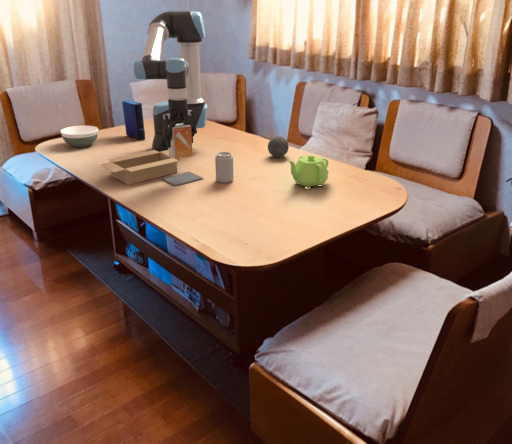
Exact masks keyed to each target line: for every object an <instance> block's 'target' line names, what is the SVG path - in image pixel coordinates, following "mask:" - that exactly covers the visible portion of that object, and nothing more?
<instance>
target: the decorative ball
mask: <svg viewBox="0 0 512 444" xmlns="http://www.w3.org/2000/svg"><path fill="white" fill-rule="evenodd" d="M267 151H268V153H269V154H270V155H271V156H272V157H275V158H282V157H284V156H285V155H287V154H288V151H289V142H288V140H287V139H286V138H284V137H282V136H280V135H279V136H274V137H272V138H270V139H269V141H268V144H267Z"/></svg>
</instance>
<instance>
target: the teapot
mask: <svg viewBox="0 0 512 444" xmlns="http://www.w3.org/2000/svg"><path fill="white" fill-rule="evenodd" d="M287 162H289V164H290V174H291V176H292V178H293V180H294V182H296V184H297V183H299V184H298V185H300V186H304V188H305V187H307V188H309V187H315V186H317V185H324V184H325V183H326V181H327V180H328V179H329V170H328V166H329V160H328V159H327V158H324V157H322V158H321V157H318V156H315V155H314V154H308V155H307V156H305V155H304V156H303V155H302V156H300V157H299V158H298V160H297V161H296V163H295V162H294V161H293V160H288V159H287Z"/></svg>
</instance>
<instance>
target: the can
mask: <svg viewBox="0 0 512 444" xmlns="http://www.w3.org/2000/svg"><path fill="white" fill-rule="evenodd" d="M214 159H215V161H214V162H215V180H216V181H217V182H218V183H221V184H229V183H231V182H233V180H234V177H235V175H234V156H233V155H232V153H231V152H229V151H220V152H217V153H216V156H215V157H214Z"/></svg>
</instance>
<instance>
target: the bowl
mask: <svg viewBox="0 0 512 444" xmlns="http://www.w3.org/2000/svg"><path fill="white" fill-rule="evenodd" d="M98 131H99V128H98V126H94V125H71V126H68V127H65V128H62V129H60V131H59V132H60V135H61V137H62V140H63V141H64V142H65V143H66V144H67V145H70V146H71V147H73V148H77V149H78V148H79V149H81V148H87V147H90V146H91V145H92V144H94V143H95V141H96V140H97V138H98Z"/></svg>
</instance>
